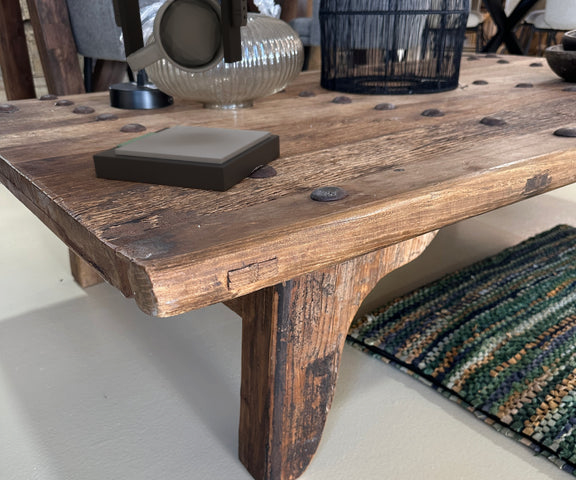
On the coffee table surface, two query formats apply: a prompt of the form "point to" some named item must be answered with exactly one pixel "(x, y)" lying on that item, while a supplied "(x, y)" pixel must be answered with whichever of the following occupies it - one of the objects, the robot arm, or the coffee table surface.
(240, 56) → the robot arm
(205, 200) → the coffee table surface
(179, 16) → the ceramic mug
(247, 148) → the scale
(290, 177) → the coffee table surface
